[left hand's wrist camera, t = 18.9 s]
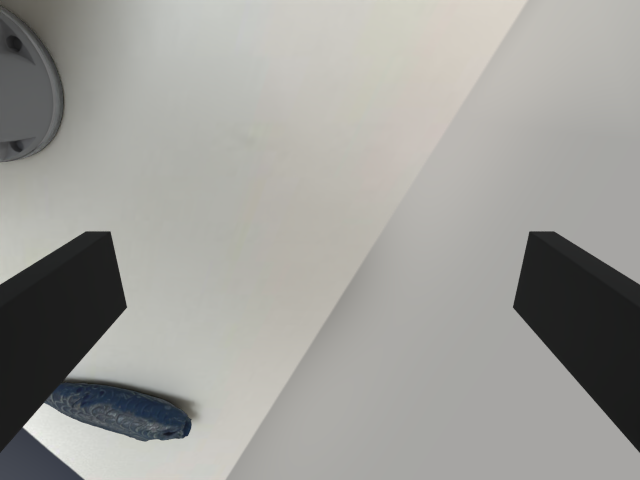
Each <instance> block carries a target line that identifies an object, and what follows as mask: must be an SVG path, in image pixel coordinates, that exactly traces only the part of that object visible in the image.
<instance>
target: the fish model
mask: <svg viewBox="0 0 640 480" xmlns="http://www.w3.org/2000/svg"><path fill="white" fill-rule="evenodd" d="M44 403H46V404H48V405H50V406H51V407H53V408H55V409H56V410H58V411H59V412H61V413H63V414H65V415H67V416H69V417H71V418H73V419H76V420H78V421H80V422H83V423H86V424H90V425H92V426H96V427H99V428H103V429H105V430H109V431H112V432H116V433H119V434H124V435H126V436H129V437H132V438H135V439H137V440H141V441H148V440H153V439H160V440H169V439H174V438H177V439H180V438H184V437H185V436H188V434H189V432H190V430H191V419H190V418H189V417H188V415H187V414H186V413H185V412H184V411H183V410H181V409H179V408H177V407H175V406H174V405H173V404H171V403H170V402H168V401H165V400H163V399H160V398H156V397H153V396H149V395H147V394H142V393H139V392H136V391H132V390H128V389H122V388H118V387H112V386H106V385H98V384H87V383H76V384H73V383H61V384H60V385H59V386H58V387H57V388H56V389H55V390H54V392H53V393H52V394H51V395H50V396H49V397H48V398H47V400H46V401H45V402H44Z"/></svg>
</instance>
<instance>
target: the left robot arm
mask: <svg viewBox="0 0 640 480" xmlns="http://www.w3.org/2000/svg"><path fill="white" fill-rule="evenodd" d="M62 113H63V92H62V86H61V81H60V78H59V75H58V72H57V69H56V67H55V64H54V62H53V60H52V58H51V56H50V54H49V53H48V51H47V49H46V48H45V46H44V45H43V43H42V42H41V41H40V39H39V38H38V37H37V36H36V34H35V33H34V32H33V31H32V30H31V29H30V28H29V27H28V26H27V25H26V24H25V23H24V22H23V21H22V20H20V19H19V18H18V17H17V16H15V15H14V14H13V13H11V12H10V11H8V10H7V9H5V8H3V7H1V6H0V162H8V161H13V160H17V159H21V158H25V157H28V156H31V155H33V154H35V153H37V152H39V151H40V150H42V149H43V148H44V147H45V146H46V145H47V144H48V143H49V142H50V141H51V140H52V139H53V137H54V136H55V134H56V132H57V130H58V128H59V126H60V122H61V119H62ZM126 308H127V305H126V301H125V296H124V291H123V287H122V282H121V278H120V273H119V268H118V264H117V259H116V255H115V250H114V245H113V241H112V236H111V232H84V233H83V234H81V235H80V236H78V237H76V238H75V239H73V240H72V241H70V242H68V243H67V244H65V245H63V246H62V247H60V248H59V249H57V250H55V251H54V252H52V253H51V254H49V255H47V256H46V257H44V258H42V259H41V260H39V261H38V262H36V263H34V264H33V265H31V266H30V267H28V268H26V269H25V270H23V271H22V272H20V273H18V274H17V275H15V276H13V277H12V278H10V279H9V280H7V281H5V282H4V283H2V284H1V285H0V452H1V451H2V450H3V449H4V448H5V447H6V445H7V444H8V443H9V442H10V441H11V440H12V439H13V437H14V436H15V435H16V434H17V433H18V432H19V430H20V429H21V428H22V427H23V426H24V425H25V424H26V423H27V421H28V420H29V419H30V418H31V417H32V416H33V415H34V413H35V412H36V411H37V410H38V409H39V408H40V406H41V405H42V404H43V403H44V402H45V401H46V400H47V398H48V397H49V396H50V395H51V394H52V393H53V392H54V390H55V389H56V388H57V387H58V386H59V385H60V384H61V382H62V381H63V380H64V379H65V378H66V377H67V376H68V374H69V373H70V372H71V371H72V370H73V369H74V368H75V366H76V365H77V364H78V363H79V362H80V361H81V360H82V358H83V357H84V356H85V355H86V354H87V353H88V352H89V350H90V349H91V348H92V347H93V346H94V345H95V344H96V342H97V341H98V340H99V339H100V338H101V337H102V335H103V334H104V333H105V332H106V331H107V330H108V329H109V327H110V326H111V325H112V324H113V323H114V322H115V321H116V319H117V318H118V317H119V316H120V315H121V314H122V313H123V311H124V310H125V309H126ZM513 308H514V309H515V310H516V311H517V313H518V314H519V315H520V316H521V317H522V318H523V319H524V321H525V322H526V323H527V324H528V325H529V326H530V327H531V329H532V330H533V331H534V332H535V333H536V334H537V335H538V337H539V338H540V339H541V340H542V341H543V342H544V344H545V345H546V346H547V347H548V348H549V349H550V350H551V352H552V353H553V354H554V355H555V356H556V357H557V358H558V360H559V361H560V362H561V363H562V364H563V365H564V366H565V368H566V369H567V370H568V371H569V372H570V373H571V374H572V376H573V377H574V378H575V379H576V380H577V381H578V382H579V384H580V385H581V386H582V387H583V388H584V389H585V390H586V392H587V393H588V394H589V395H590V396H591V397H592V398H593V400H594V401H595V402H596V403H597V404H598V405H599V406H600V408H601V409H602V410H603V411H604V412H605V413H606V415H607V416H608V417H609V418H610V419H611V420H612V421H613V422H614V424H615V425H616V426H617V427H618V428H619V429H620V431H621V432H622V433H623V434H624V435H625V436H626V437H627V439H628V440H629V441H630V442H631V443H632V444H633V445H634V447H635V448H636V449H637V450H638V451H639V452H640V285H639V284H638V283H636V282H635V281H633V280H631V279H630V278H628V277H627V276H625V275H623V274H622V273H620V272H618V271H617V270H615V269H614V268H612V267H610V266H609V265H607V264H606V263H604V262H602V261H601V260H599V259H598V258H596V257H594V256H593V255H591V254H589V253H588V252H586V251H585V250H583V249H581V248H580V247H578V246H577V245H575V244H573V243H572V242H570V241H568V240H567V239H565V238H564V237H562V236H560V235H559V234H557V233H556V232H529V236H528V241H527V245H526V250H525V255H524V259H523V264H522V269H521V273H520V278H519V282H518V287H517V291H516V296H515V301H514V305H513Z"/></svg>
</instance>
